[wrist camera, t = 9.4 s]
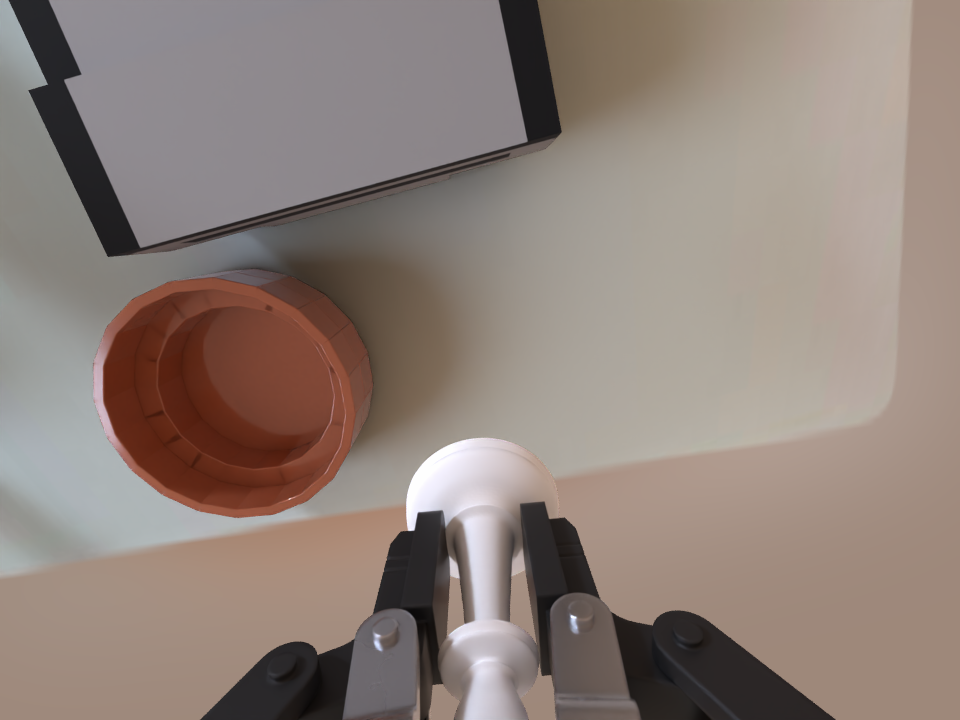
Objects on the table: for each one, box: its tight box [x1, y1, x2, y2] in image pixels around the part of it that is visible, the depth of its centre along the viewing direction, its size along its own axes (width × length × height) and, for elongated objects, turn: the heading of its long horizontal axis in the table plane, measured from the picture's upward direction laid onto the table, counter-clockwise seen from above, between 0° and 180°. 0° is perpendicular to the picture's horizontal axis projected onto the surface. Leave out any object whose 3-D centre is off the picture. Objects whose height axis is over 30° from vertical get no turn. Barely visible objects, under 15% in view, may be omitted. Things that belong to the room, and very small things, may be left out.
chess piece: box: [406, 438, 559, 720], centre depth 10 cm, size 5×5×10 cm
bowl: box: [93, 269, 373, 518], centre depth 28 cm, size 14×14×6 cm
